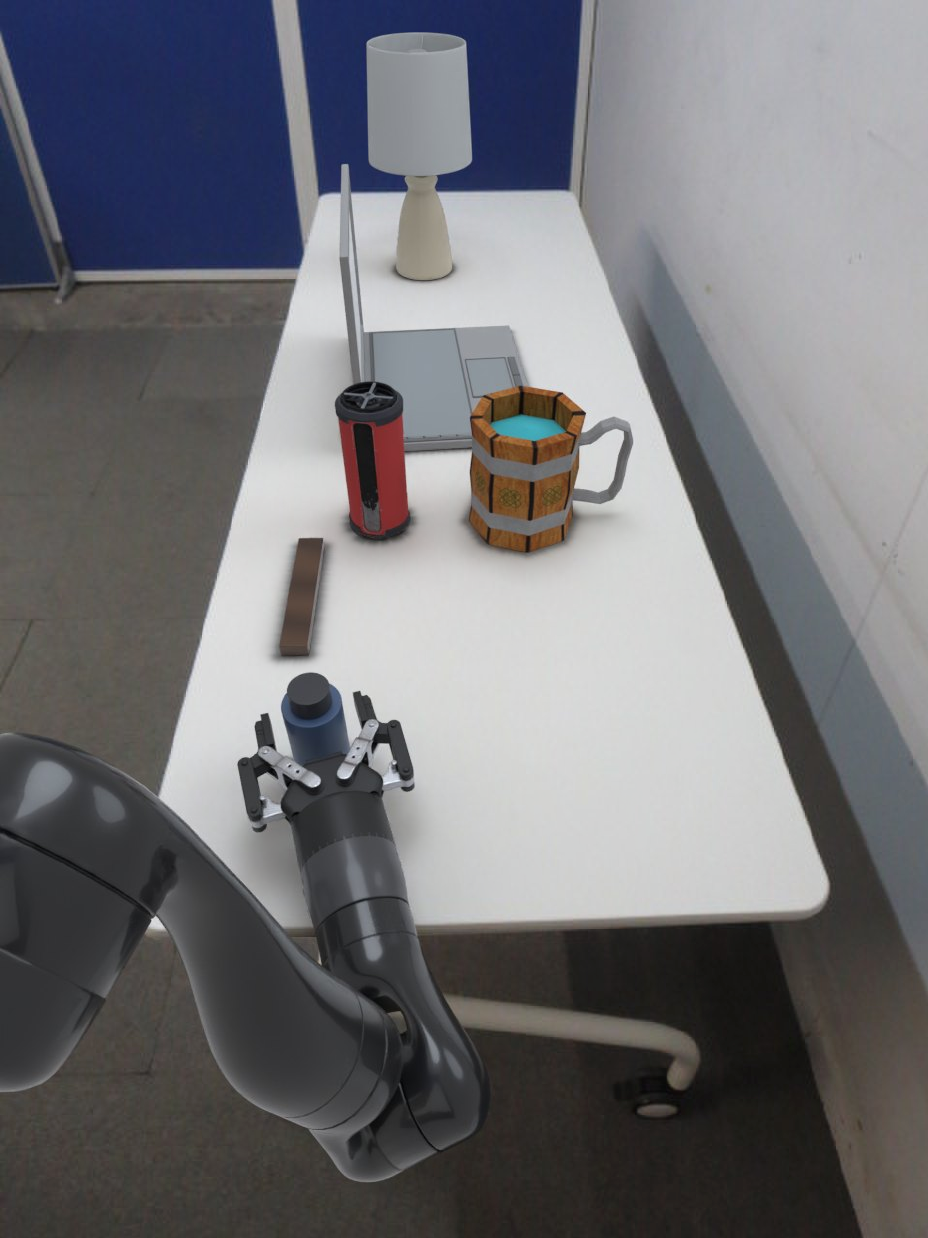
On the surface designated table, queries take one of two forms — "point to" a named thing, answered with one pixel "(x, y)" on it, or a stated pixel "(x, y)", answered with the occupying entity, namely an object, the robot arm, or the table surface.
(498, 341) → the laptop
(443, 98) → the lamp
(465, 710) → the table surface
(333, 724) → the water bottle
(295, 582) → the walnut strip
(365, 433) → the speaker
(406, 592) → the table surface
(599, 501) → the mug
